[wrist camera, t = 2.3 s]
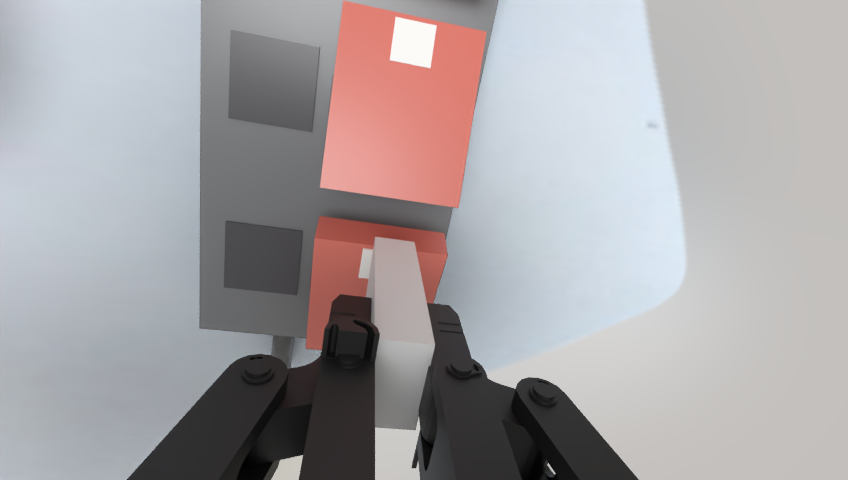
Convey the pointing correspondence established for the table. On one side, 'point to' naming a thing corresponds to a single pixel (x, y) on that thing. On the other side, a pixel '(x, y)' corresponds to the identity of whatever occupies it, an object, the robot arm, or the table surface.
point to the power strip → (282, 156)
